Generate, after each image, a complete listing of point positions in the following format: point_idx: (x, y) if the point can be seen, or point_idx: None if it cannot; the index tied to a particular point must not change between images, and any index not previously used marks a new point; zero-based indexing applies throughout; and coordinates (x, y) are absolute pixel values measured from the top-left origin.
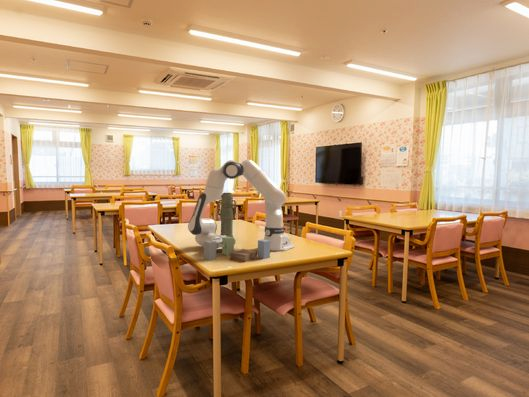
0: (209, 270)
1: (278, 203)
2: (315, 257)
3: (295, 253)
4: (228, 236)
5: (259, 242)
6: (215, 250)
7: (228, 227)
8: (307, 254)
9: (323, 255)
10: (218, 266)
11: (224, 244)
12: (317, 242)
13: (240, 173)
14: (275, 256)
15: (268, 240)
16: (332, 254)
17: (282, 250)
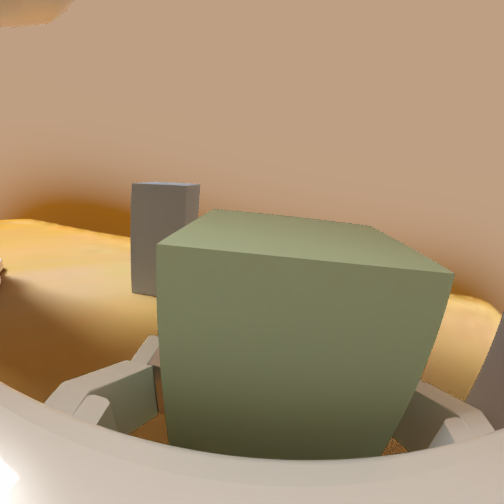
0: (496, 311)
1: (66, 8)
2: (85, 231)
3: (40, 250)
4: (180, 242)
5: (190, 197)
6: (501, 335)
7: None
8: (50, 238)
9: (56, 228)
10: (465, 320)
11: None
12: None
13: None
14: (115, 269)
15: (154, 182)
16: (42, 224)
17: (2, 266)
